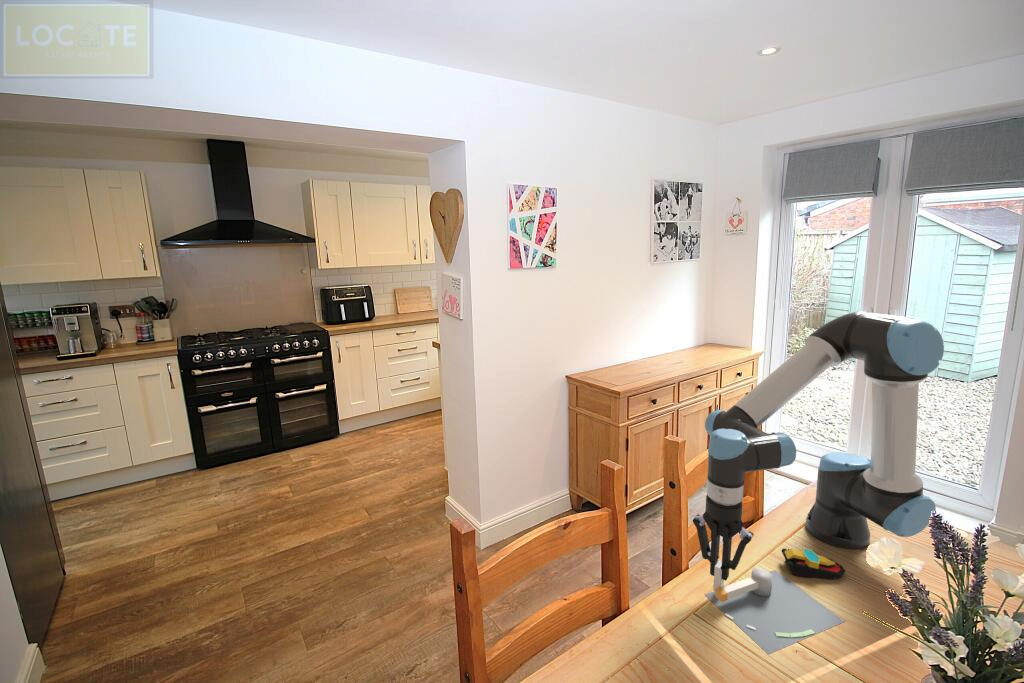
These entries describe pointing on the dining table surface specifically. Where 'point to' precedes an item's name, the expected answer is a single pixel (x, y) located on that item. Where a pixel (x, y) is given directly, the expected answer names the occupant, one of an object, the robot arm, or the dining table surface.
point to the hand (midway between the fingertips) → (718, 588)
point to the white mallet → (747, 586)
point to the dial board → (777, 614)
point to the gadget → (811, 564)
